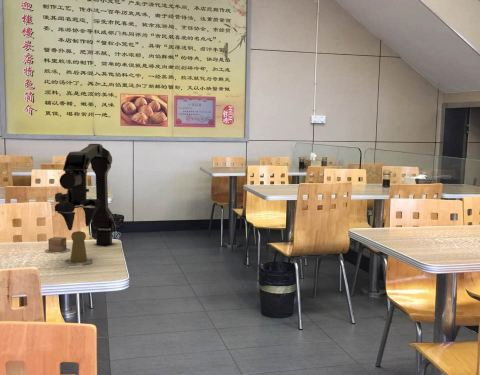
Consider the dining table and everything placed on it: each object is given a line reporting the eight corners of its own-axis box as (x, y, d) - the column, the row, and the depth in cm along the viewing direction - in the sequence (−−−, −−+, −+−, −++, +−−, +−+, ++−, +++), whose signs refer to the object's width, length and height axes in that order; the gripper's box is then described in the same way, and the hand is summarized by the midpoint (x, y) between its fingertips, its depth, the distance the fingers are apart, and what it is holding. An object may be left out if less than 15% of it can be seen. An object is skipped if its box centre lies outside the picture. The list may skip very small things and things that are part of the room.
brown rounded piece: (82, 263, 194) (81, 233, 193) (67, 262, 195) (66, 232, 194) (90, 259, 200) (90, 230, 198) (75, 258, 201) (75, 229, 200)
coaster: (57, 248, 220) (57, 246, 220) (76, 251, 216) (76, 249, 216) (38, 252, 211) (38, 251, 211) (58, 255, 207) (57, 254, 207)
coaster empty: (77, 258, 204) (77, 256, 204) (98, 261, 200) (98, 259, 200) (58, 263, 195) (58, 262, 195) (80, 267, 191) (80, 265, 191)
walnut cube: (55, 248, 216) (54, 236, 216) (66, 249, 215) (66, 237, 215) (48, 251, 211) (48, 239, 211) (60, 252, 210) (60, 239, 210)
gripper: (78, 182, 207) (79, 222, 209) (42, 187, 190) (43, 230, 192) (101, 184, 202) (102, 225, 204) (66, 189, 186) (67, 233, 187)
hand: (78, 228), depth 197 cm, fingers open, 9 cm apart
